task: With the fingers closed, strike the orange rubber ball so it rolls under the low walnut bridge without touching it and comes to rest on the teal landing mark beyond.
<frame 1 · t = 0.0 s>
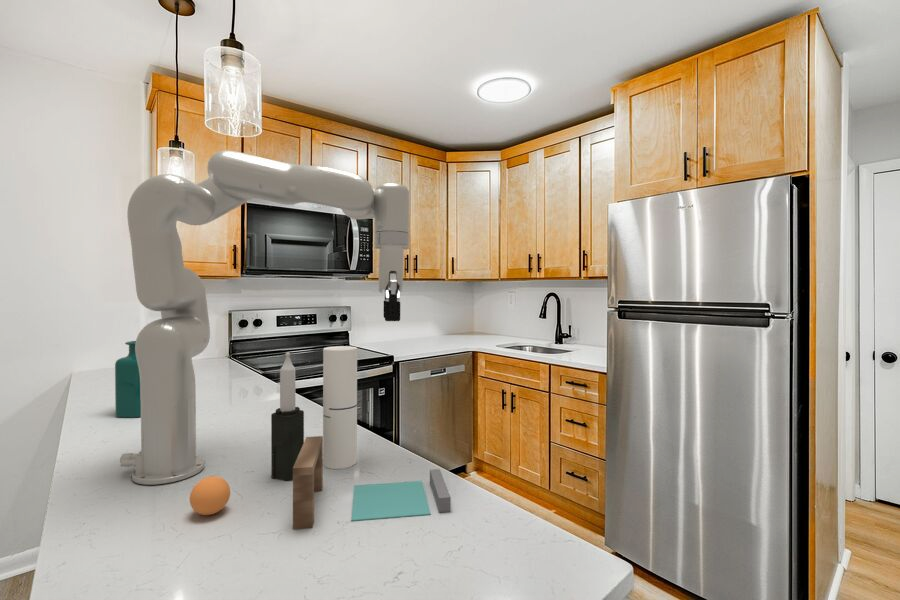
hand: (391, 319, 98), 31 cm above the counter, tool pointing down, fingers open, 9 cm apart
teal green bottle: (138, 414, 134), on the counter
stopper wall: (439, 495, 82), on the counter
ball: (210, 495, 75), on the counter
cylindrical container: (340, 463, 97), on the counter
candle: (287, 475, 91), on the counter
landing mark: (389, 499, 80), on the counter
bridge: (309, 505, 78), on the counter
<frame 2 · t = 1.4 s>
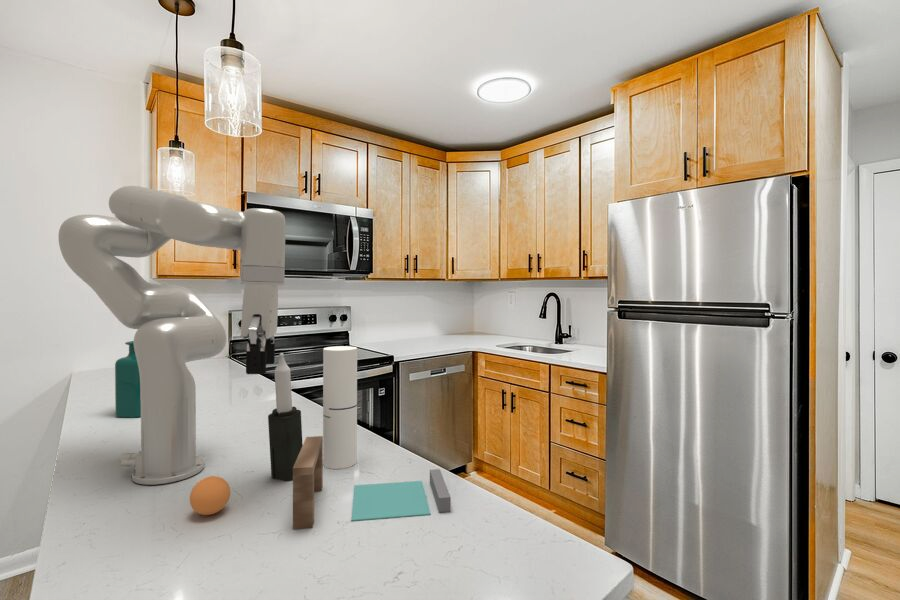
hand: (261, 368, 83), 23 cm above the counter, tool pointing down, fingers open, 9 cm apart
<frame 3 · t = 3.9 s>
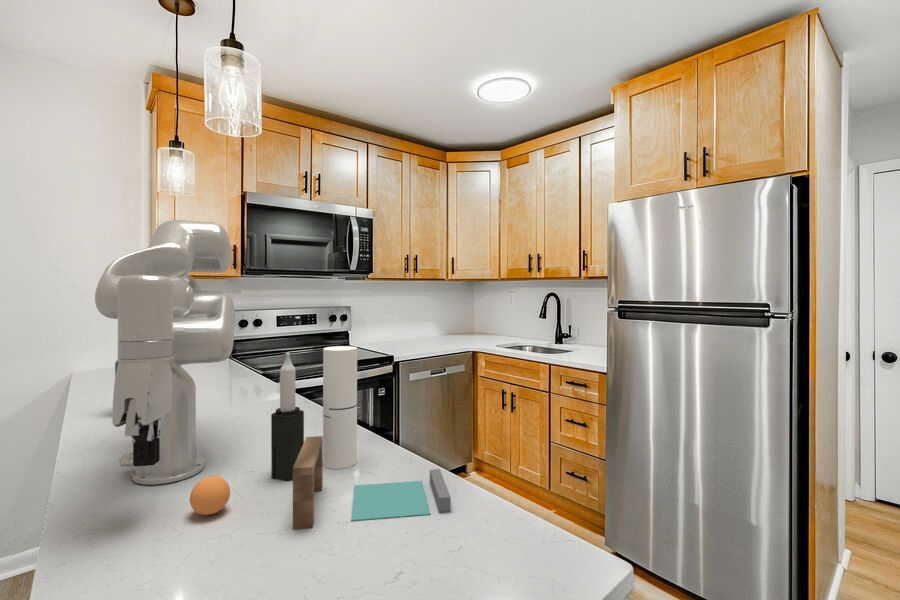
hand: (146, 463, 72), 9 cm above the counter, tool pointing down, fingers closed
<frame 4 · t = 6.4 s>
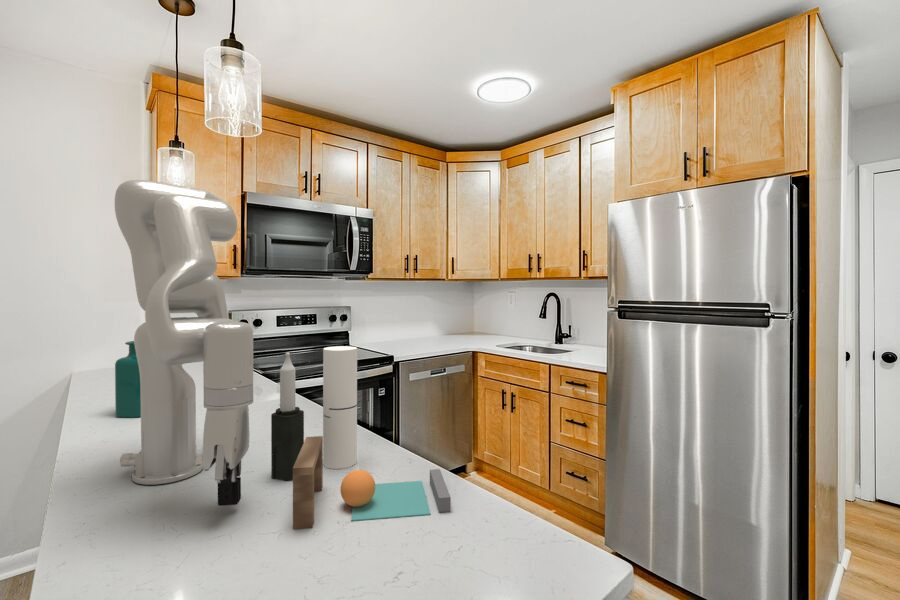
hand: (229, 502, 76), 2 cm above the counter, tool pointing down, fingers closed
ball: (358, 488, 78), on the counter
everything else where it was.
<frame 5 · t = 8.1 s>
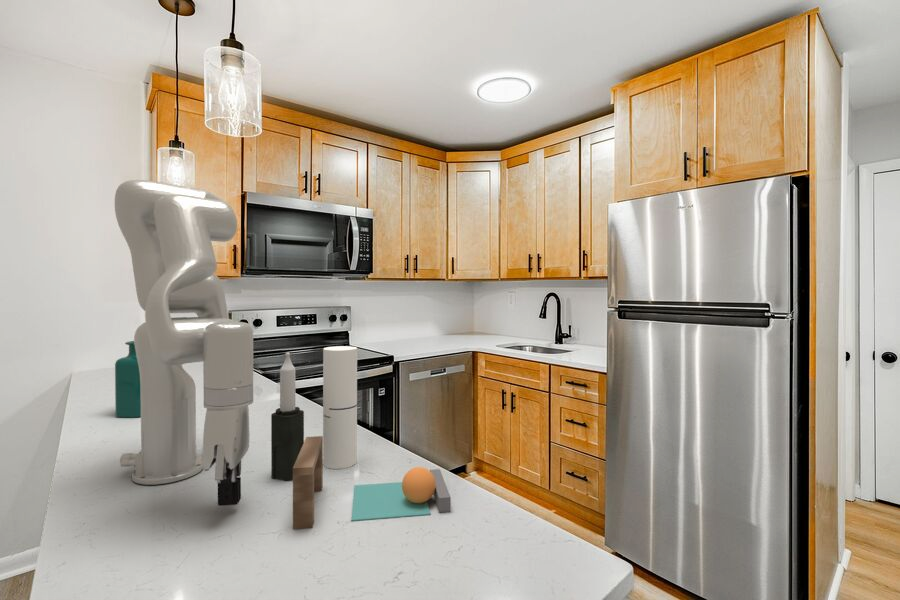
hand: (229, 502, 76), 2 cm above the counter, tool pointing down, fingers closed
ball: (418, 485, 80), on the counter
everything else where it was.
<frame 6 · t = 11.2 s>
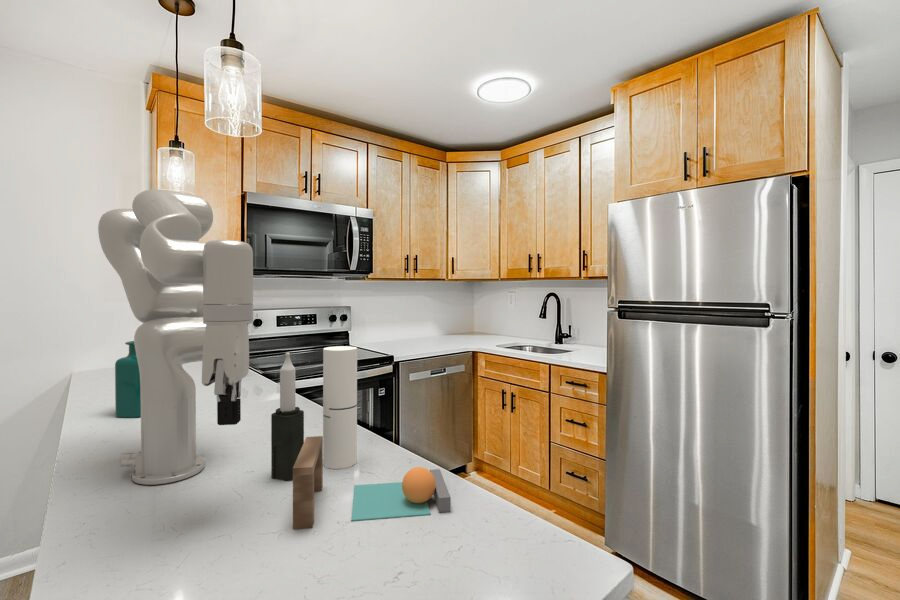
hand: (229, 423, 75), 15 cm above the counter, tool pointing down, fingers closed
nothing on the counter moved.
at the end: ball 5.3 cm from the landing mark (horizontally); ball never touched bridge; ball at rest at the end (0.0 cm/s) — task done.
